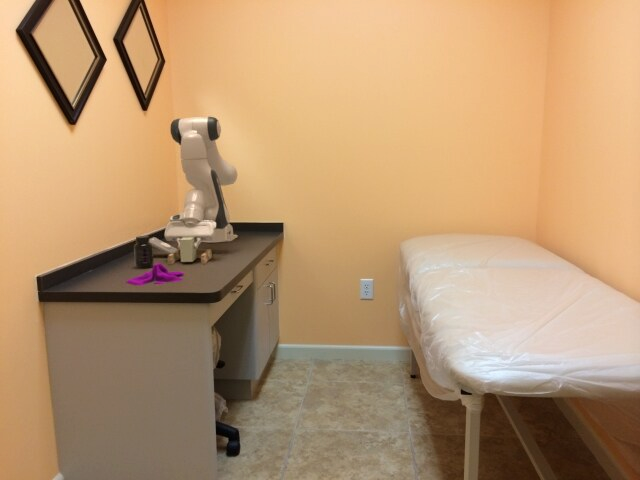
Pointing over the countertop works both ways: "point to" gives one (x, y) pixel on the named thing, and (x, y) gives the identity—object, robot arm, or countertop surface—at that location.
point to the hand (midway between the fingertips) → (187, 248)
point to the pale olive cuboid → (187, 249)
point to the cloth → (156, 276)
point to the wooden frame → (200, 253)
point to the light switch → (162, 245)
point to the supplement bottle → (143, 252)
